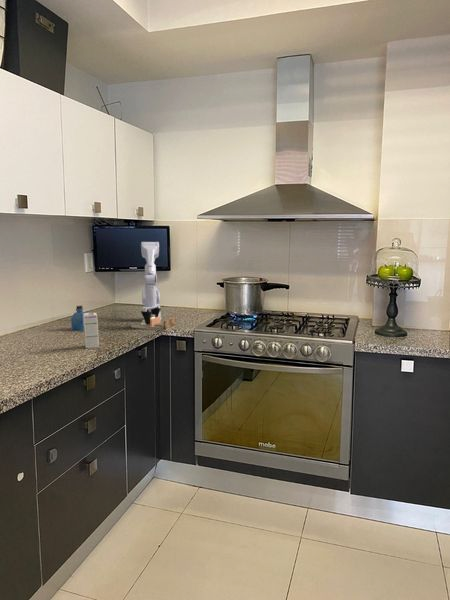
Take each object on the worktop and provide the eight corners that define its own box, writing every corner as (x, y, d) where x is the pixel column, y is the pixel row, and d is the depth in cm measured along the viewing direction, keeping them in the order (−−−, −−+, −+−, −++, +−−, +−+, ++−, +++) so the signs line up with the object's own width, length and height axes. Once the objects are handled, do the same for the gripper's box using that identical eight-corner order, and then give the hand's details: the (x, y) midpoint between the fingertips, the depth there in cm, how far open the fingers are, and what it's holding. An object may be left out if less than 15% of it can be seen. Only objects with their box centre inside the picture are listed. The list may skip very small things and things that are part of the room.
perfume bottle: (82, 330, 229) (81, 307, 227) (71, 330, 230) (70, 306, 228) (89, 328, 235) (88, 305, 233) (78, 327, 236) (77, 305, 234)
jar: (148, 324, 243) (147, 313, 242) (157, 325, 241) (156, 314, 240) (143, 326, 238) (143, 315, 237) (152, 327, 236) (152, 316, 235)
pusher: (158, 324, 243) (158, 316, 242) (167, 324, 241) (167, 317, 240) (150, 327, 234) (150, 319, 234) (158, 328, 233) (158, 320, 232)
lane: (143, 323, 248) (143, 314, 247) (176, 326, 241) (176, 317, 240) (131, 327, 237) (131, 318, 236) (165, 330, 230) (165, 321, 229)
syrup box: (99, 347, 196) (98, 314, 194) (85, 348, 194) (83, 315, 192) (98, 344, 202) (96, 312, 199) (84, 345, 199) (82, 312, 197)
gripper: (151, 295, 245) (151, 319, 247) (136, 298, 232) (137, 324, 234) (162, 295, 243) (163, 320, 245) (148, 299, 229) (149, 326, 231)
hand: (151, 322), depth 239 cm, fingers open, 7 cm apart
